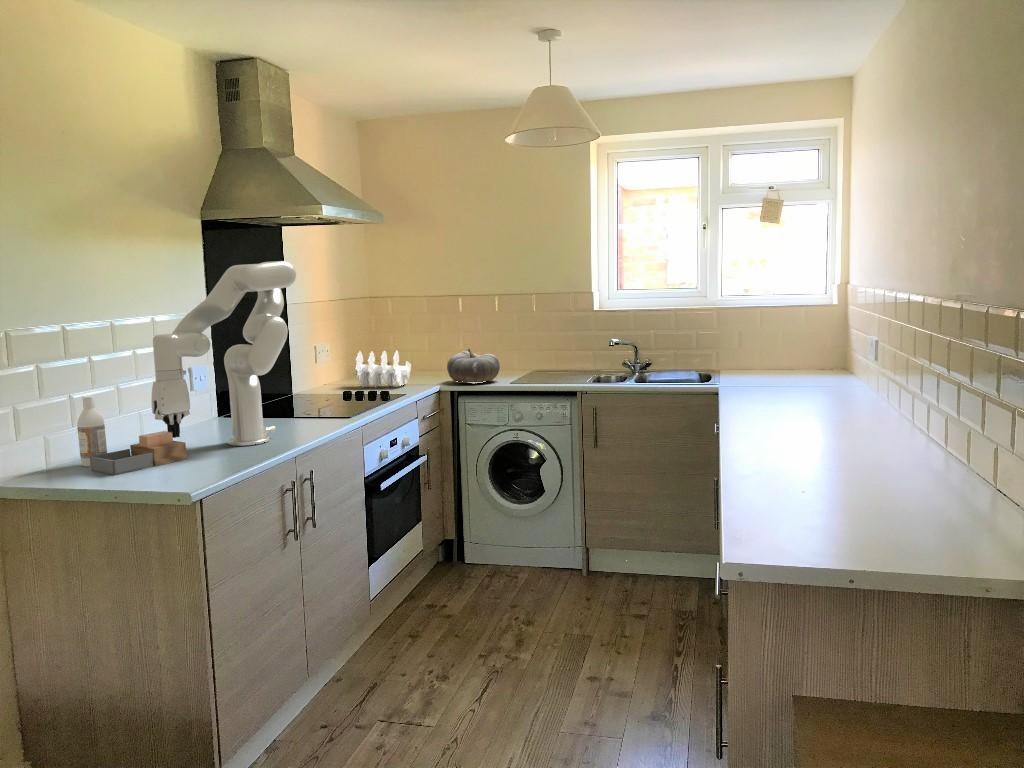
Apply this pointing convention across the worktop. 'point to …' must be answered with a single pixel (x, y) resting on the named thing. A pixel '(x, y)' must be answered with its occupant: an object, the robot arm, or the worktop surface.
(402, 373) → the white shapes
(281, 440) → the worktop surface
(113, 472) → the tray
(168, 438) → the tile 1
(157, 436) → the light orange block
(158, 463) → the brown slab
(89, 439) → the bath foam
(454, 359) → the gourd
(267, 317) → the robot arm
